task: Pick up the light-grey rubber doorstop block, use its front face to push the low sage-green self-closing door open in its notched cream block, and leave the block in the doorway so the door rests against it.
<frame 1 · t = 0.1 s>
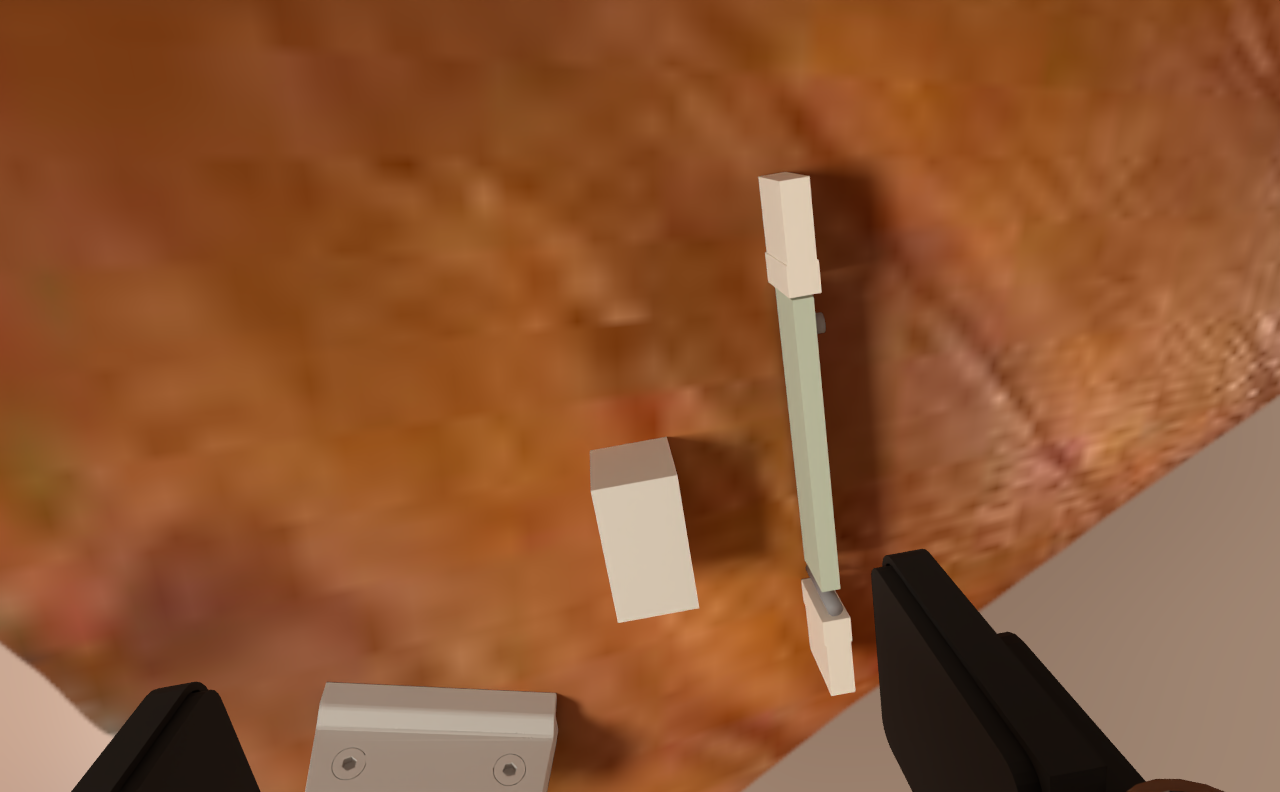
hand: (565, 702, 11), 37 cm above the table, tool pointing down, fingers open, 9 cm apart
notched cream block: (799, 435, 50), on the table
hinge: (442, 728, 56), on the table
door: (816, 452, 48), point 2 cm above the table, hinge at 0.0°
doorstop block: (639, 505, 51), on the table
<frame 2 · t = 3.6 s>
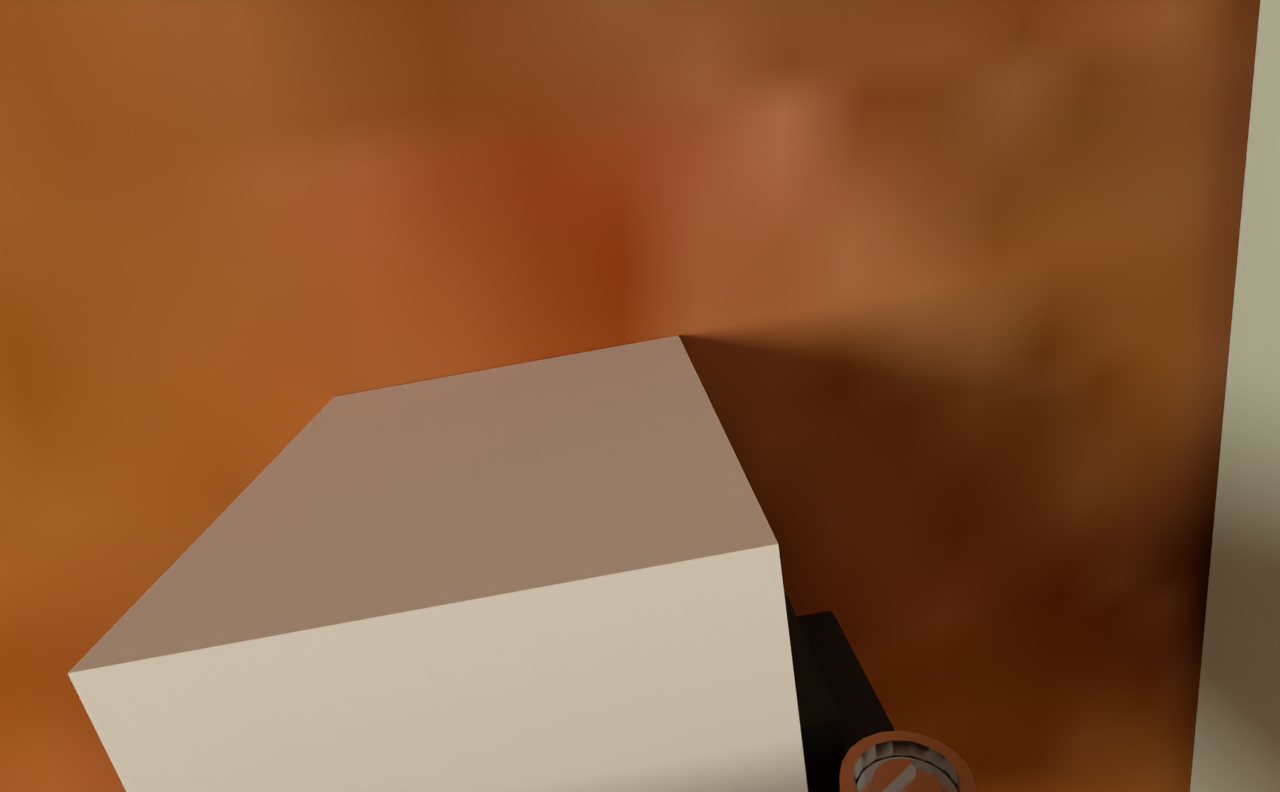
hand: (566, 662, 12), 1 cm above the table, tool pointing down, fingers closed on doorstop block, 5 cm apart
doorstop block: (567, 627, 12), on the table, touching gripper
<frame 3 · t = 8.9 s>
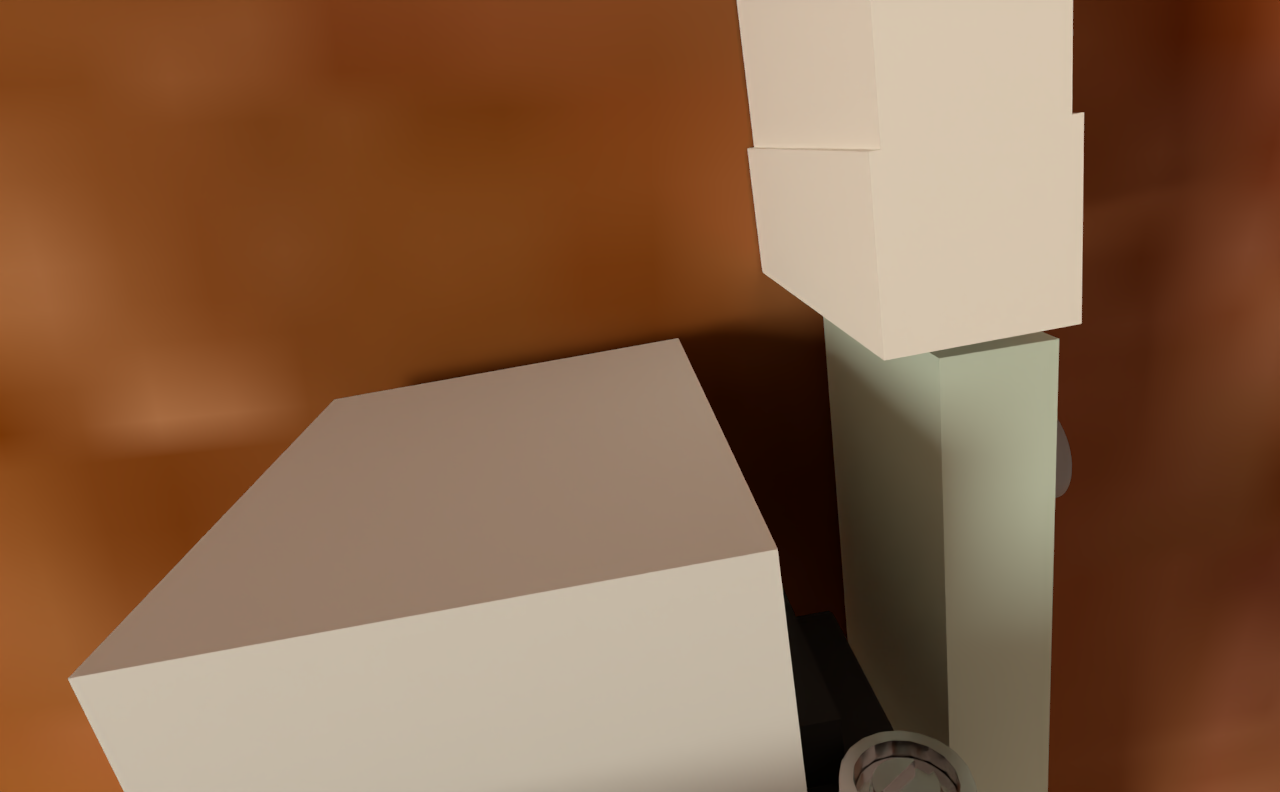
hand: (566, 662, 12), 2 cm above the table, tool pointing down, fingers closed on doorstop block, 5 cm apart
notched cream block: (872, 787, 15), on the table
doorstop block: (567, 630, 12), point 1 cm above the table, touching gripper
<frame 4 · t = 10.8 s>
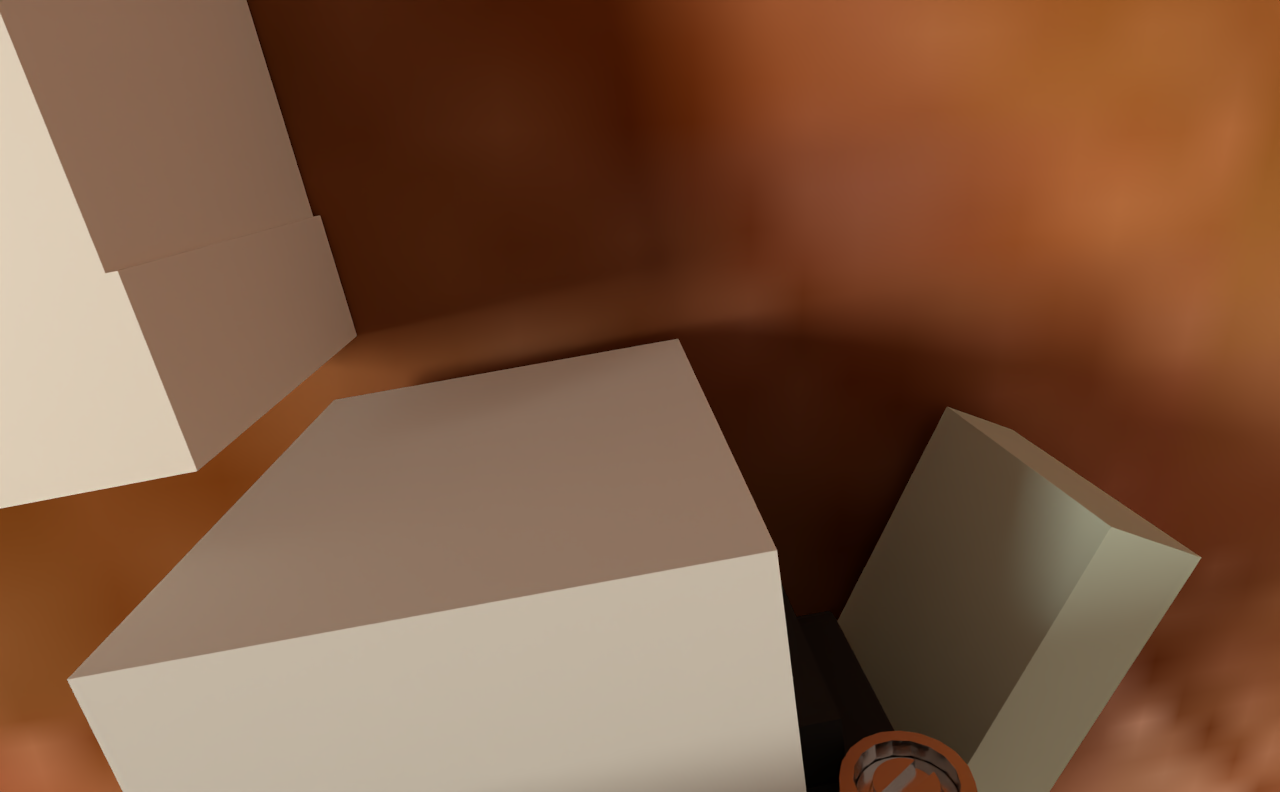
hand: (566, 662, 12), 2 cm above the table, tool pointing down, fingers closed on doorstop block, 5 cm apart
doorstop block: (567, 630, 12), point 1 cm above the table, touching door, gripper
when the fingers open (1 cm above the table, at t = 13.4 s): doorstop block stays where it is, on the table.
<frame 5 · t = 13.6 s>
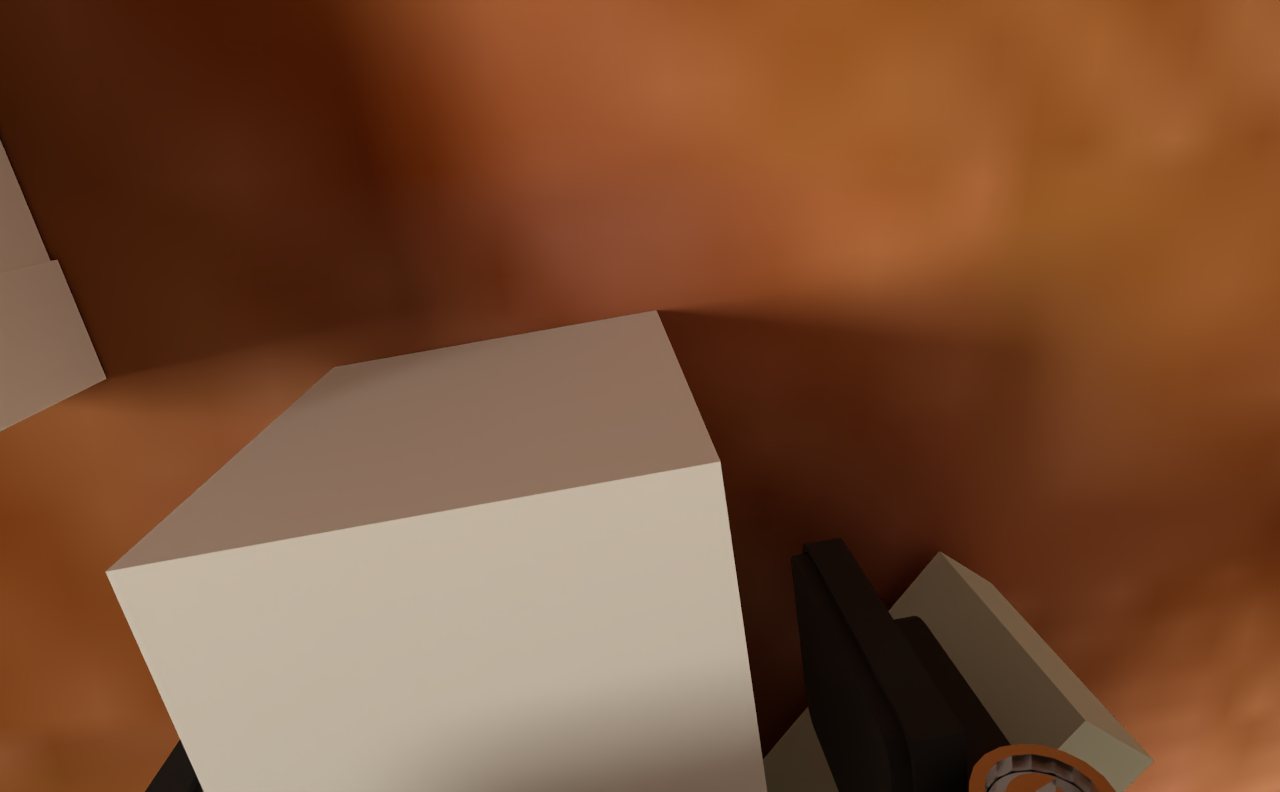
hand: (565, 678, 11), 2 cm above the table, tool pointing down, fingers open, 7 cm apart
doorstop block: (554, 586, 13), on the table
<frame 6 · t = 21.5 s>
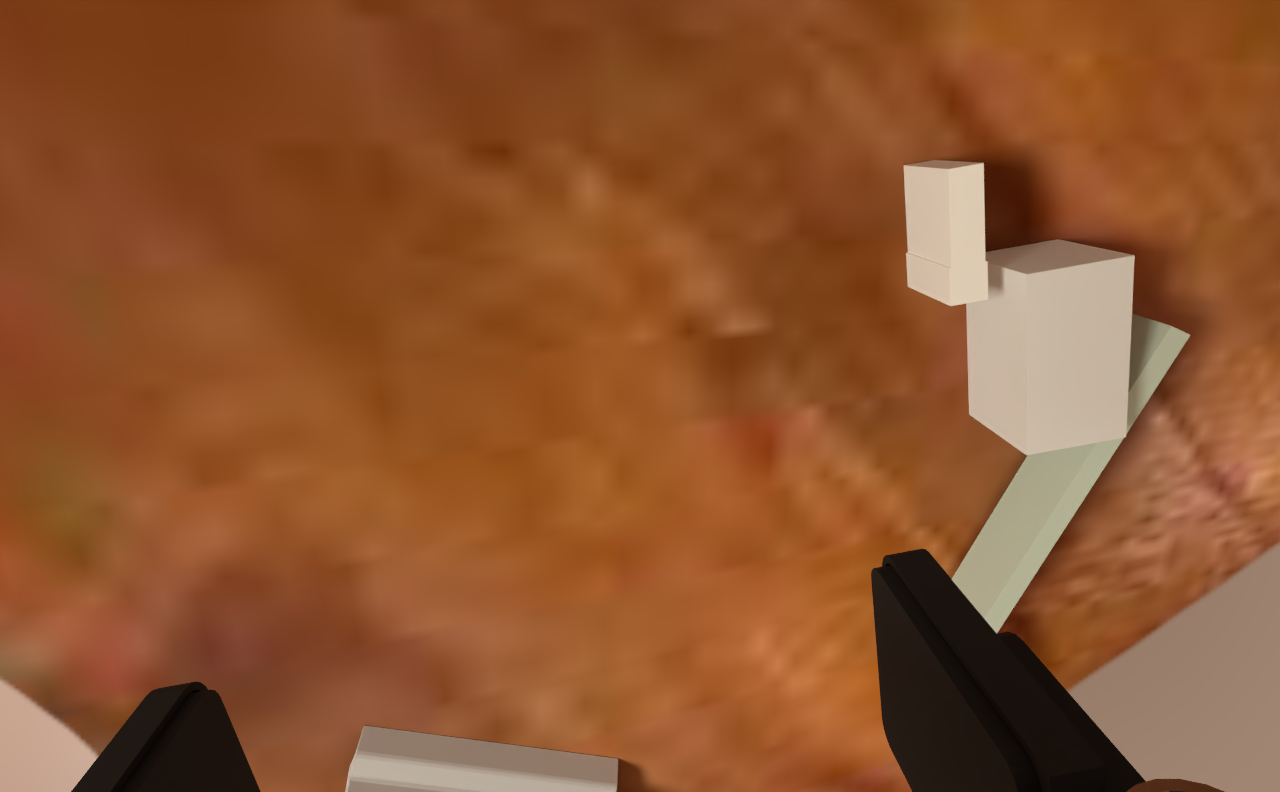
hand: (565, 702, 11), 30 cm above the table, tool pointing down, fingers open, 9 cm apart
notched cream block: (932, 460, 44), on the table
hinge: (484, 785, 50), on the table
door: (1053, 493, 42), point 2 cm above the table, hinge at 32.7°, touching doorstop block
doorstop block: (1011, 329, 42), on the table, touching door
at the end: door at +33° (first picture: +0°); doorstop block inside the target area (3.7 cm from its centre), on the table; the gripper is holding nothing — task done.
